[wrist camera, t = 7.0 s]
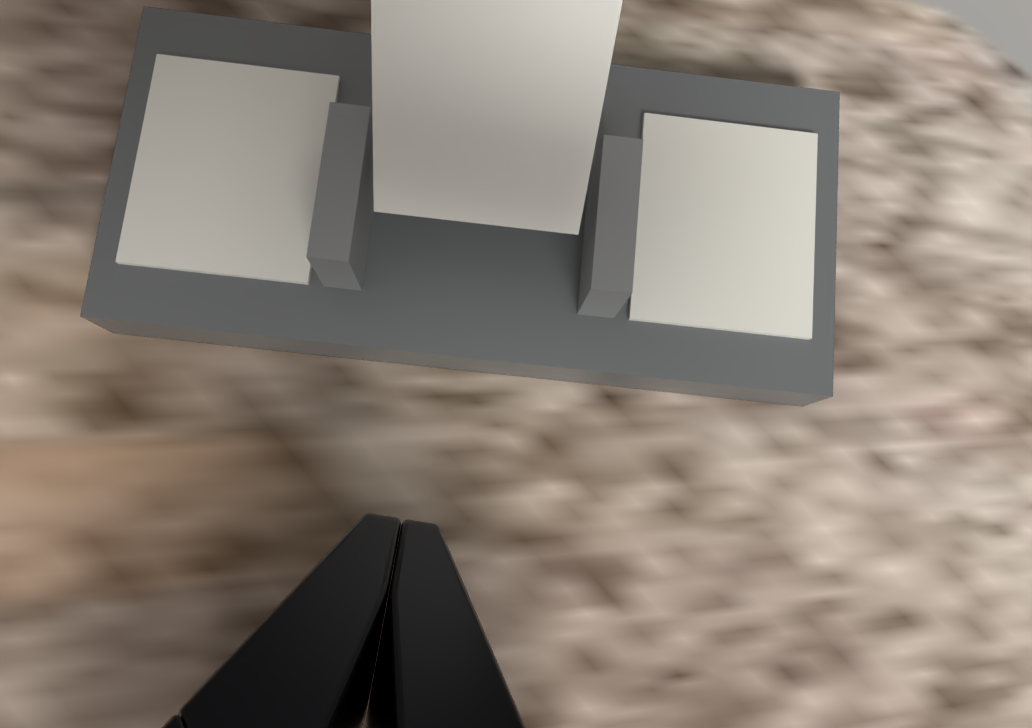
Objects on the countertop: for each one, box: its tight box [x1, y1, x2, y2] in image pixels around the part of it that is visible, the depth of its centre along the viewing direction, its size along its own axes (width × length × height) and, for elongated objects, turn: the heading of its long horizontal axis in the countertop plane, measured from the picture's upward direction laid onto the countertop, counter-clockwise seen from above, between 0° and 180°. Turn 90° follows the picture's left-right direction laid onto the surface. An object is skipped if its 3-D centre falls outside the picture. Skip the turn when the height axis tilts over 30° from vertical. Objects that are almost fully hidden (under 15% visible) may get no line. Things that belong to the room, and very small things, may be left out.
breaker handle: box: [371, 0, 623, 235], centre depth 18 cm, size 2×5×8 cm
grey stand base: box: [80, 6, 840, 406], centre depth 22 cm, size 9×20×4 cm, turn 84°
